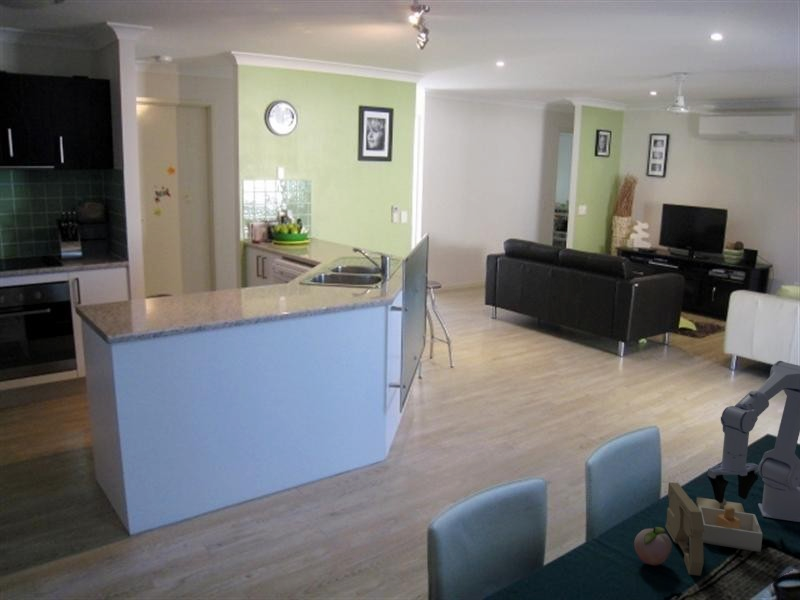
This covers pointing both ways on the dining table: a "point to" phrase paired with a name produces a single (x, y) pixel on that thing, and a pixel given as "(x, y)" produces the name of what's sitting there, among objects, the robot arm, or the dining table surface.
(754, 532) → the bin
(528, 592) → the dining table surface
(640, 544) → the decorative fruit
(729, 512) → the orange knobbed block
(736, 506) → the stud board
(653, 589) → the dining table surface
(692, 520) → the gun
